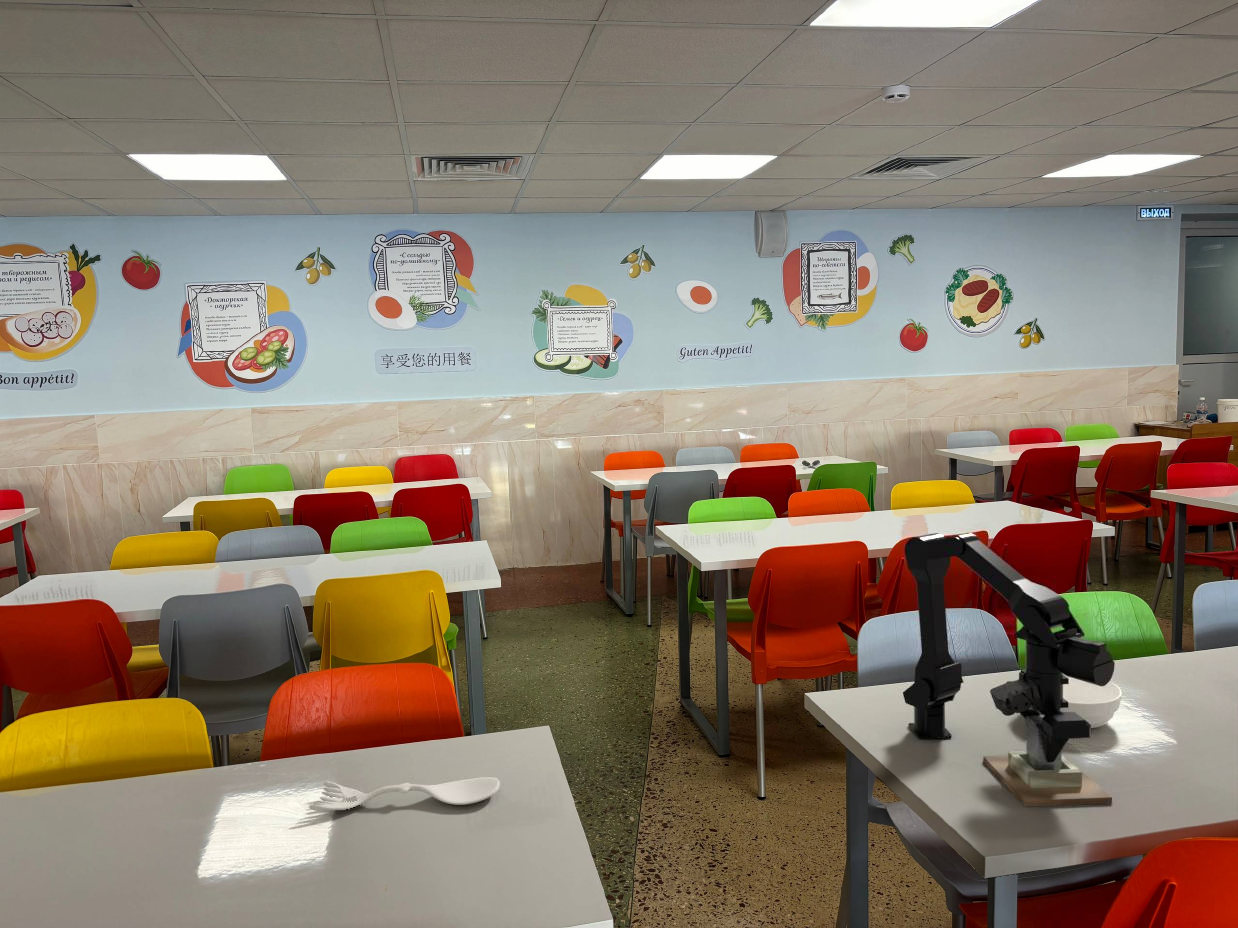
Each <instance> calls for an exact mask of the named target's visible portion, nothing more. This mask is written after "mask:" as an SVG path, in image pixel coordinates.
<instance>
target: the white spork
mask: <svg viewBox="0 0 1238 928" xmlns="http://www.w3.org/2000/svg"><path fill="white" fill-rule="evenodd" d="M323 786H324V787H323V788H322V790H324V791H322V792H321V794H322V795H324V796H320V797H319V799H320V800H316V801H315V802H313V804H310V805H309V806H308V807H309V809H310V810H311V811H319V812H320V811H321V812H322V811H323V812H325V811H326V812H327V811H345V810H346V809H348V810H351V809H350V808H353V807H355V806H357V805H360V806H362V805H364V804H366V803H367V802H370V801H371V800H373V799H375V798H376V797H378V796H381V795H383V794H387V793H401V794H406V793H408V792H413V791H417V792H422V793H425V794H428V795H430V796H431V797H433V798H435V800H438V801H440V802H442V803H445V804H450V805H456V806H457V805H458V806H462V805H463V806H465V805H471V804H475V803H478V802H481V801H484V800H486V799H488V798H490V797H492V796H493V795H495V794H496V793H497V792H498V791H499V789H500V786H501V782H500V780H499V778H496V777H493V776H492V777H491V776H489V777H487V776H482V777H474V778H467V779H460V780H459V779H458V780H454V781H449V782H444V783H438V784H433V785H431V784H414V783H413V784H412V783H409V782H403V783H401V784H394V785H386V786H383V787H380V788H378V789H376V790H373V791H371V792H368V793H364V792H363V791H360V790H357V789H355V788H351V787H345V786H343V785H340V784H338V783H335V782H332V781H324V782H323ZM328 796H329V797H328ZM353 796H357V797H356V798H358V799H357V801H354V802H352V801H351V803H350V801H349V802H347V801H346V798H349V797H350V798H351V797H353ZM333 797H339V798H333ZM345 801H346V802H345ZM363 803H364V804H363ZM361 804H362V805H361ZM353 809H354V808H353ZM346 811H347V810H346Z"/></svg>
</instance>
